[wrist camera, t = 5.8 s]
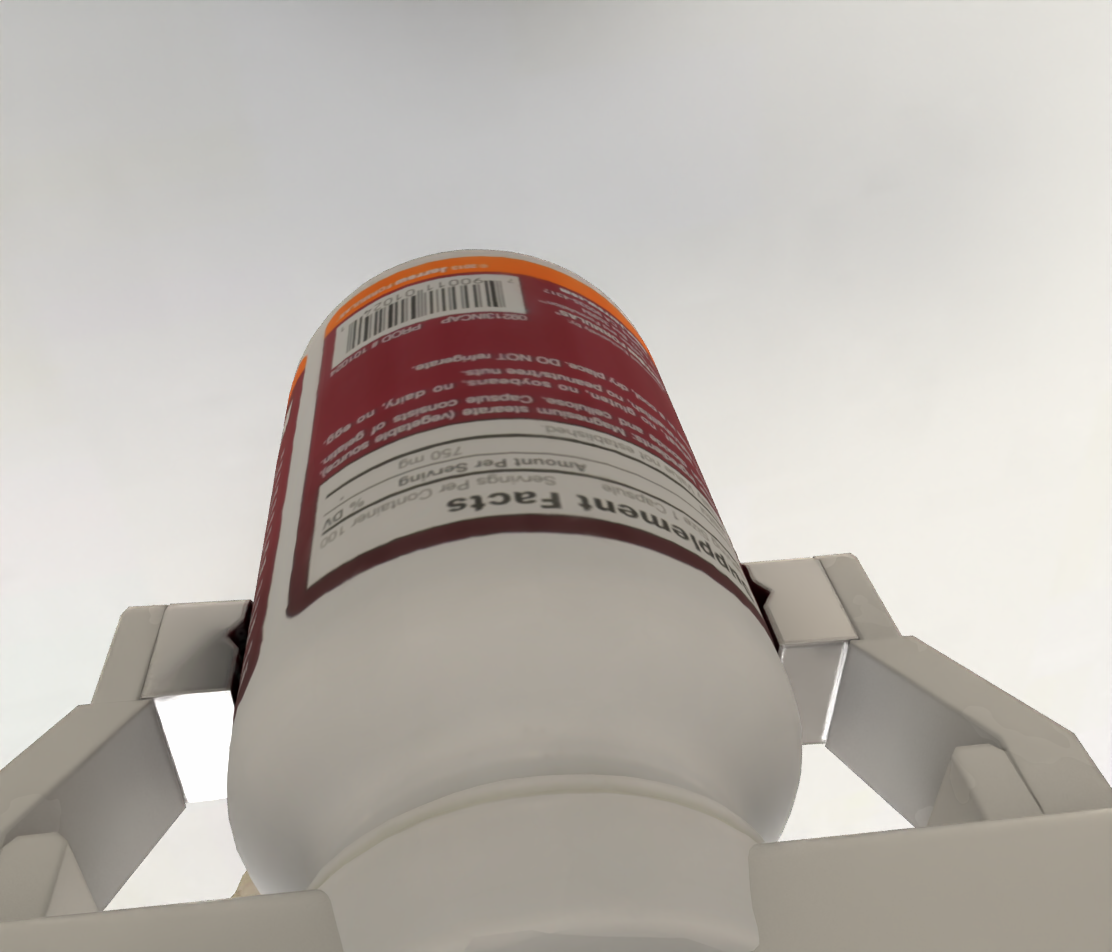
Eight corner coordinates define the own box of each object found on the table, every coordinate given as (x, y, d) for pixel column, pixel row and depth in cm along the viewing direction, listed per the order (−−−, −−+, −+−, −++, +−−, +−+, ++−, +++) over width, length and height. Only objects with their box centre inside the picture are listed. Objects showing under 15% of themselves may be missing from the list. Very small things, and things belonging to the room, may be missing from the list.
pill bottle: (522, 593, 20) (614, 1273, 11) (226, 457, 17) (31, 1199, 8) (729, 356, 17) (1068, 988, 8) (419, 154, 15) (435, 757, 6)
